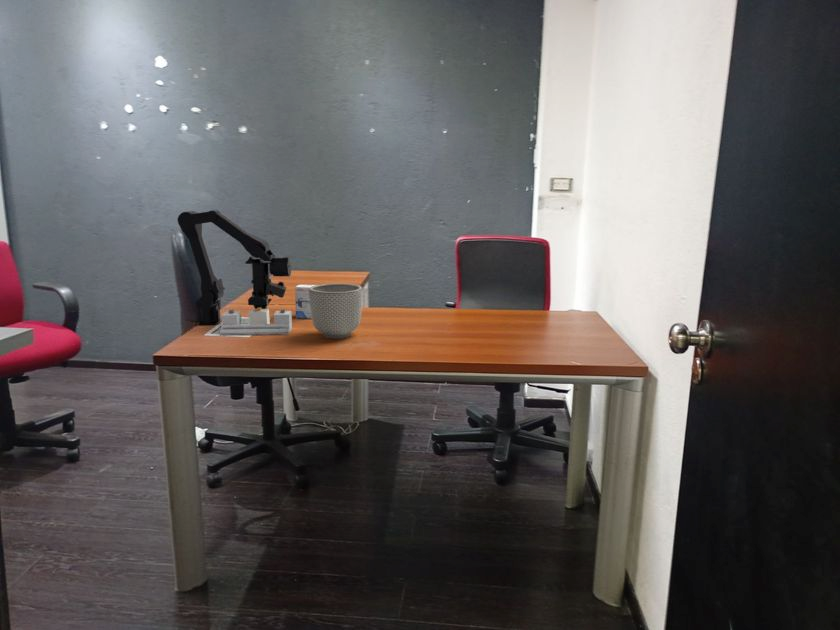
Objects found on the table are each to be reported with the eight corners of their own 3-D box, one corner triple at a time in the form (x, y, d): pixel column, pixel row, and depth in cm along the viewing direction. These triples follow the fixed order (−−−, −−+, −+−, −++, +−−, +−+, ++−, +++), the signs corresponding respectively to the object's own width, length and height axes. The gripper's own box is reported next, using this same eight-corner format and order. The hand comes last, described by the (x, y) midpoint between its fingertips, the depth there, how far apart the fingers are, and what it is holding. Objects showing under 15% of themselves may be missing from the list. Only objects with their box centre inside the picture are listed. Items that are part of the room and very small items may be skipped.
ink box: (295, 318, 227) (294, 286, 224) (299, 315, 232) (298, 284, 229) (318, 319, 226) (317, 287, 224) (321, 315, 231) (320, 284, 228)
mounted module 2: (274, 332, 206) (273, 311, 205) (277, 328, 212) (276, 308, 211) (289, 332, 207) (288, 311, 205) (291, 327, 213) (291, 307, 211)
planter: (318, 345, 191) (317, 294, 188) (304, 332, 207) (302, 285, 203) (371, 339, 199) (370, 290, 195) (353, 327, 214) (352, 281, 210)
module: (249, 329, 211) (248, 309, 209) (252, 325, 216) (251, 306, 214) (267, 329, 211) (266, 309, 210) (269, 325, 216) (268, 306, 215)
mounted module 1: (222, 333, 205) (221, 312, 204) (226, 328, 211) (225, 308, 209) (237, 332, 206) (236, 312, 204) (241, 328, 211) (240, 308, 210)
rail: (220, 335, 202) (219, 326, 202) (222, 333, 205) (222, 324, 205) (288, 334, 204) (288, 325, 203) (289, 332, 207) (289, 323, 206)
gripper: (280, 280, 207) (282, 326, 210) (287, 272, 225) (289, 314, 228) (246, 280, 206) (249, 326, 209) (256, 272, 224) (258, 314, 227)
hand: (262, 320), depth 219 cm, fingers closed
